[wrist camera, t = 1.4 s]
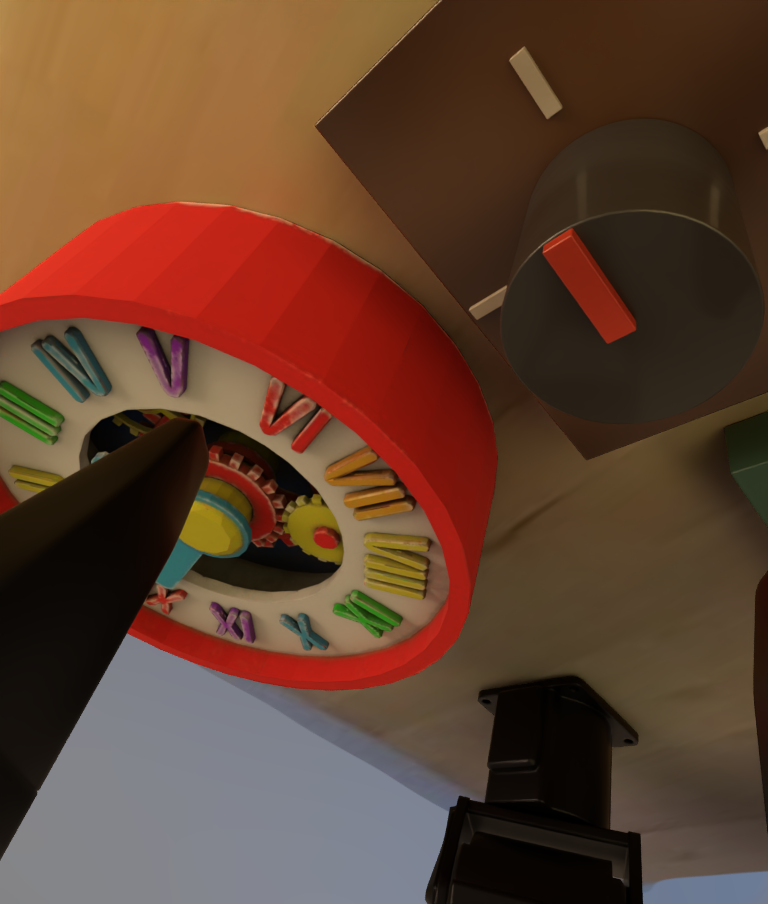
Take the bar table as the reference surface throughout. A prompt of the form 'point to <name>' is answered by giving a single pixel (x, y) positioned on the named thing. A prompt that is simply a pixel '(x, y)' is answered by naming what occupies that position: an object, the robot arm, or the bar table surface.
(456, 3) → the dial panel
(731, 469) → the button box
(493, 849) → the robot arm
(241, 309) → the toy clock
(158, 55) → the bar table surface
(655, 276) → the pointer knob
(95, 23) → the bar table surface
